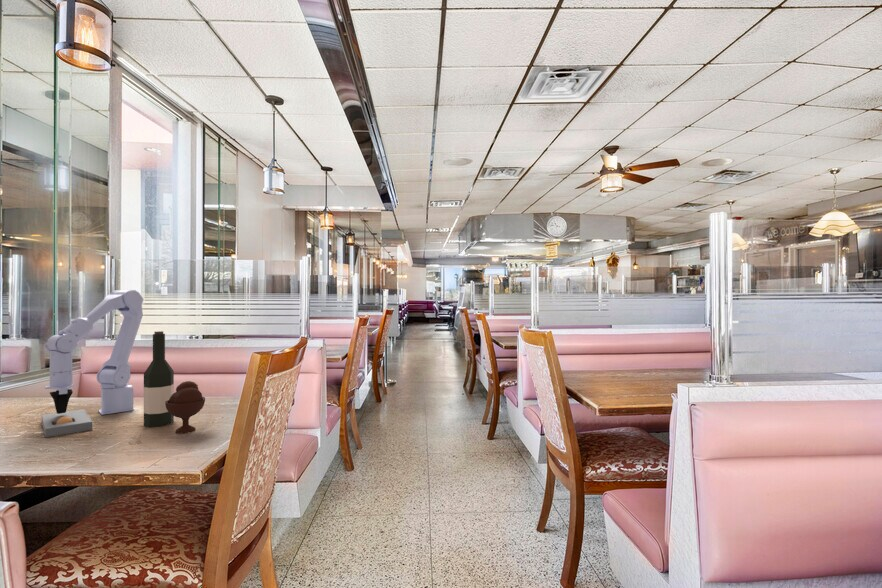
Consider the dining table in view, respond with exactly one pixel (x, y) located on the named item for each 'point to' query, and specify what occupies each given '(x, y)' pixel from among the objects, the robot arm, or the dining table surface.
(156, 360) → the wine bottle
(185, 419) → the ice cream bowl
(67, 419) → the ball
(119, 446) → the dining table surface
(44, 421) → the board
